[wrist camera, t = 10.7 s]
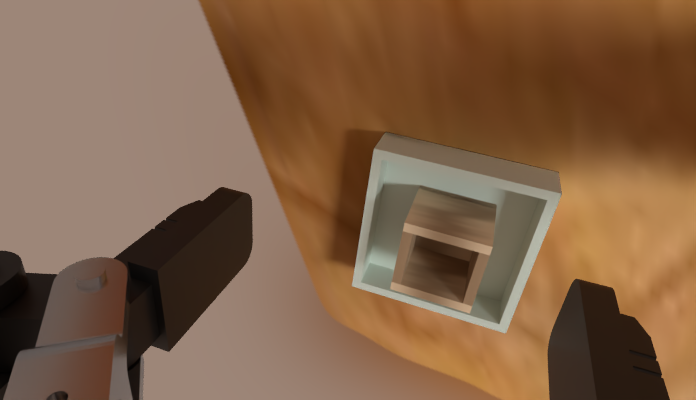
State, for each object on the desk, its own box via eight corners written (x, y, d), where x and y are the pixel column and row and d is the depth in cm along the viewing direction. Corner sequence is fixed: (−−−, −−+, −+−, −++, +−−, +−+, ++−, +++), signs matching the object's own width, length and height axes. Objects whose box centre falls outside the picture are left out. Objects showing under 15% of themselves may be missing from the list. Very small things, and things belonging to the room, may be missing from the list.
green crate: (558, 172, 34) (561, 193, 32) (506, 305, 41) (505, 333, 38) (385, 131, 37) (373, 148, 34) (363, 262, 44) (351, 286, 41)
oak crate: (496, 204, 36) (492, 247, 31) (476, 265, 39) (469, 313, 34) (420, 184, 38) (404, 222, 33) (406, 245, 41) (389, 288, 36)
